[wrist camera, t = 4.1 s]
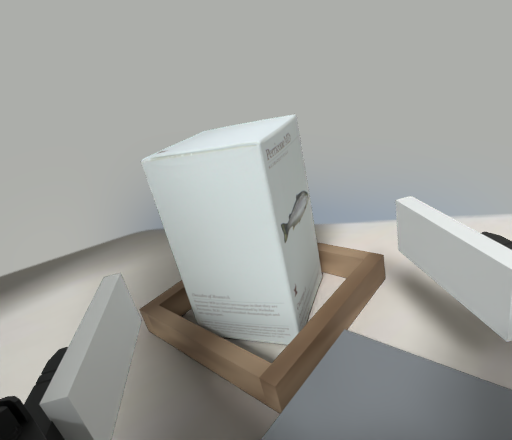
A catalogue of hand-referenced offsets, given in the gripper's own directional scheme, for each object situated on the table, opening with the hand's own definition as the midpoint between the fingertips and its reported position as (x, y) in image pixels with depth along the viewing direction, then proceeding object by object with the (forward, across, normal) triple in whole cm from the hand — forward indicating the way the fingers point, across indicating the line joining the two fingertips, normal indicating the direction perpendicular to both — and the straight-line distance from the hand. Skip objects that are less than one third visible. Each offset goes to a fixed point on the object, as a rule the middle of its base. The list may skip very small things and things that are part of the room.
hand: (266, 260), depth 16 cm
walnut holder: (+7, 0, -7) cm, 10 cm away
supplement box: (+7, 0, -8) cm, 10 cm away
